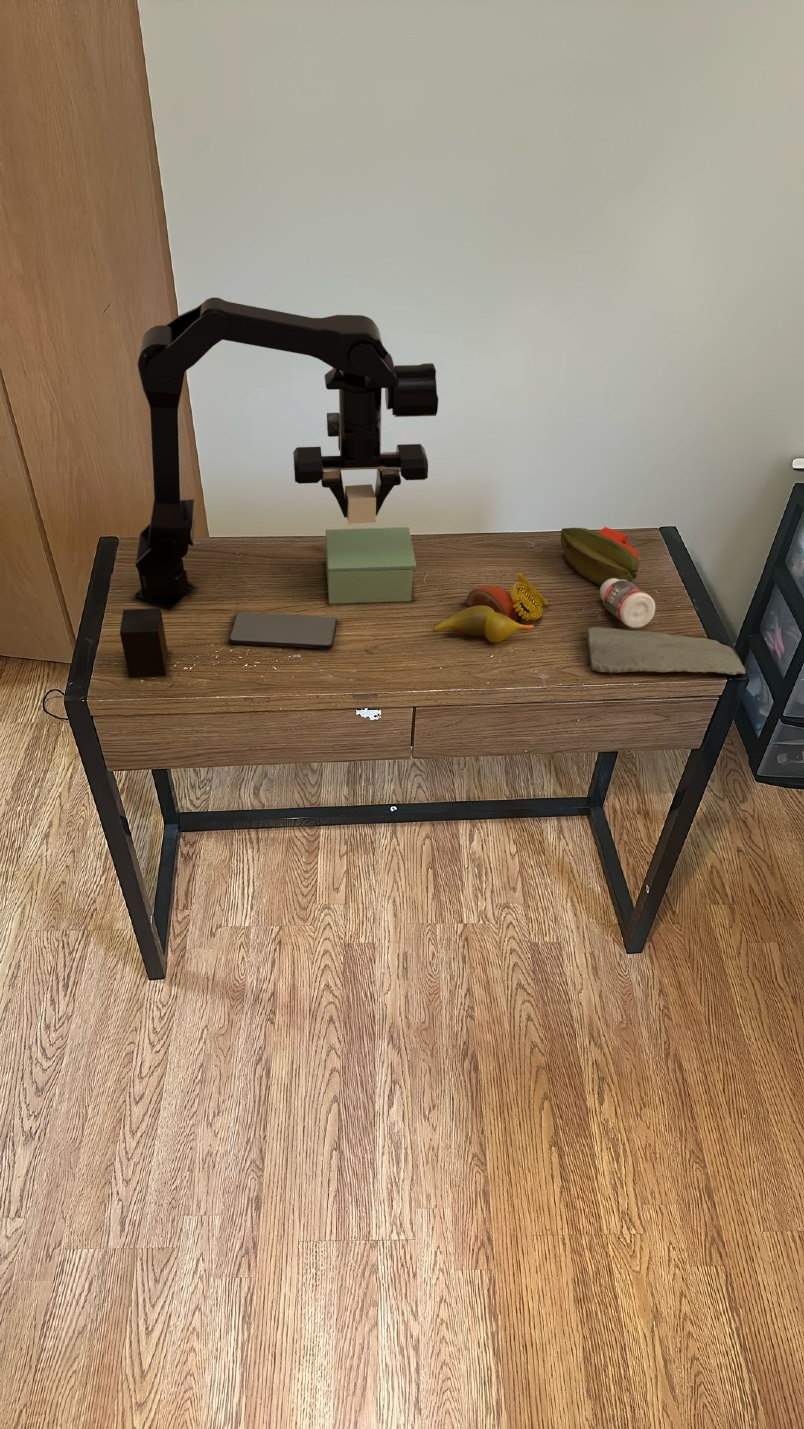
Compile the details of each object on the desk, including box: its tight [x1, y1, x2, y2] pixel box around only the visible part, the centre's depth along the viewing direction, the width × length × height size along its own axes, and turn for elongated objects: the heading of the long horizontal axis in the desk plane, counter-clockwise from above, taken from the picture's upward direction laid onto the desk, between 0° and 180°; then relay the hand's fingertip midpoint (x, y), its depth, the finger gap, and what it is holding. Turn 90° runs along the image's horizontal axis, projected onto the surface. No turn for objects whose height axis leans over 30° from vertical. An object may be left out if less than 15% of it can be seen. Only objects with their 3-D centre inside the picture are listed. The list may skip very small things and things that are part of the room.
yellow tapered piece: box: [432, 605, 535, 643], centre depth 141 cm, size 4×15×6 cm
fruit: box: [560, 527, 640, 587], centre depth 153 cm, size 11×12×7 cm
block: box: [344, 483, 377, 525], centre depth 141 cm, size 4×4×4 cm
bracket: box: [583, 526, 639, 560], centre depth 159 cm, size 12×4×5 cm
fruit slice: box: [465, 585, 519, 622], centre depth 146 cm, size 8×7×5 cm
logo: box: [509, 572, 549, 622], centre depth 145 cm, size 7×1×8 cm
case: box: [325, 544, 414, 605], centre depth 150 cm, size 13×11×6 cm
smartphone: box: [228, 611, 338, 650], centre depth 141 cm, size 7×1×15 cm
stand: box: [119, 607, 169, 679], centre depth 133 cm, size 5×5×8 cm
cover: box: [325, 526, 417, 572], centre depth 148 cm, size 13×11×1 cm
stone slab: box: [585, 626, 747, 676], centre depth 140 cm, size 22×3×10 cm
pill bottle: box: [599, 578, 656, 629], centre depth 145 cm, size 5×5×10 cm
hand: (360, 515), depth 142 cm, fingers closed on block, 4 cm apart
